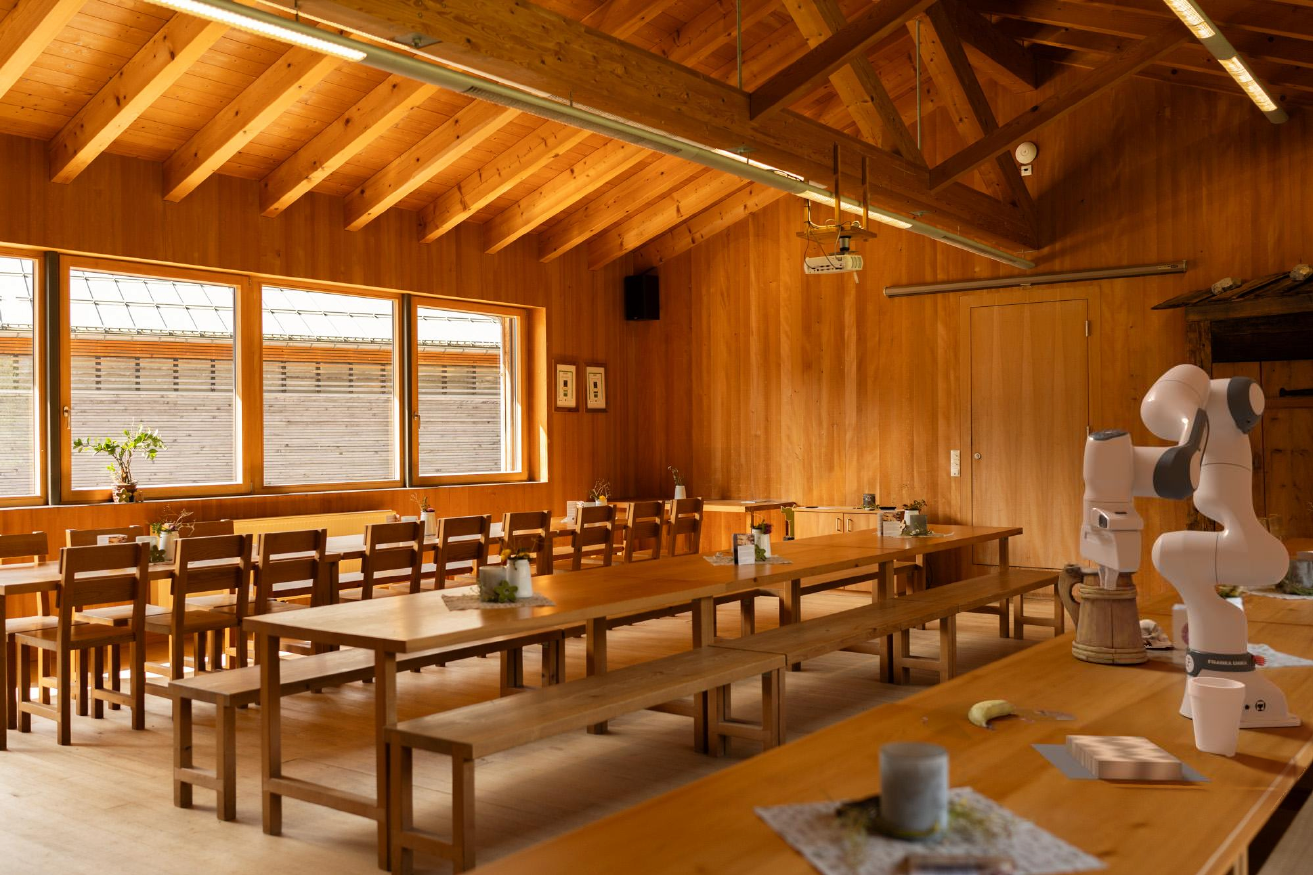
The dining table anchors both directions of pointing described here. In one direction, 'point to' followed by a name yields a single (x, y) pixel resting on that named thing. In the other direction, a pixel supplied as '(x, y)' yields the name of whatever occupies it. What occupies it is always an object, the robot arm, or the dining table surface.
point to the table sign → (1123, 757)
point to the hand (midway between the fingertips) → (1108, 588)
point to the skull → (1153, 634)
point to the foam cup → (1216, 713)
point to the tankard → (1103, 616)
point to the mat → (1078, 771)
